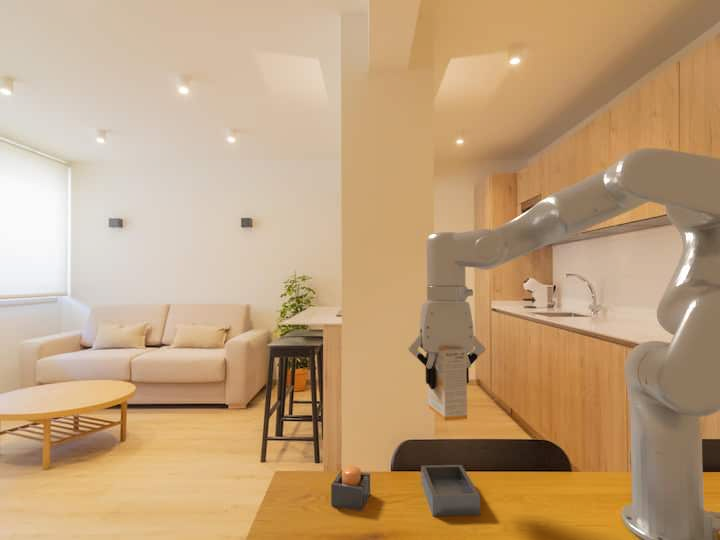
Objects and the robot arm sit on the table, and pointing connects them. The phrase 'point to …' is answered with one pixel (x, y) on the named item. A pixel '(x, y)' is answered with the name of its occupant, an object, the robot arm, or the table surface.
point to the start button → (351, 476)
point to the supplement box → (449, 385)
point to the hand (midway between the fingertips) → (447, 386)
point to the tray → (449, 490)
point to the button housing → (350, 493)
